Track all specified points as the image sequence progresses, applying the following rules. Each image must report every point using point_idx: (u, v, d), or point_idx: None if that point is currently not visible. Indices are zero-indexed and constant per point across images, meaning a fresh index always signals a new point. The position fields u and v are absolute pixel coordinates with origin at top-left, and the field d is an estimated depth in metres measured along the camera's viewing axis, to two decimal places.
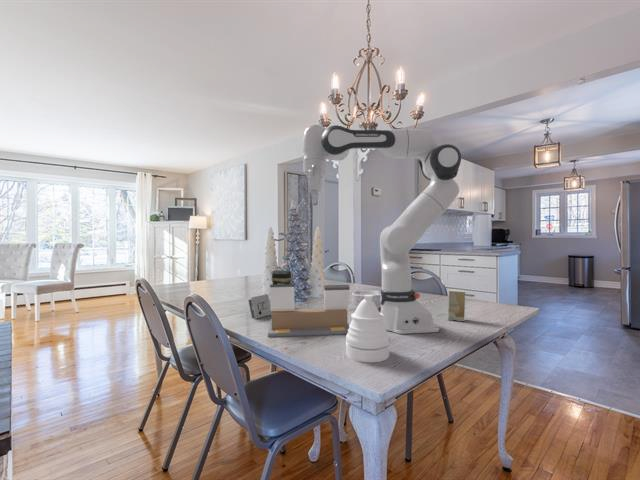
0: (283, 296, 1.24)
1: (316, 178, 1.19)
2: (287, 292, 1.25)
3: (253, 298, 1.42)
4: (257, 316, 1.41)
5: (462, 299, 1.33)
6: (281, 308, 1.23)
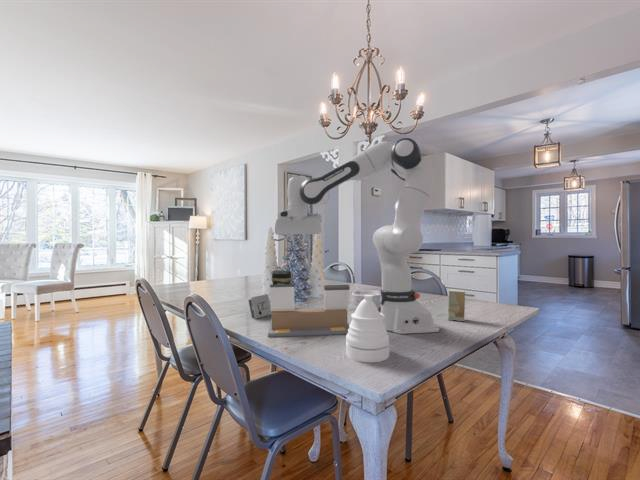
0: (283, 296, 1.24)
1: None
2: (287, 292, 1.25)
3: (253, 298, 1.42)
4: (257, 316, 1.41)
5: (462, 299, 1.33)
6: (281, 308, 1.23)
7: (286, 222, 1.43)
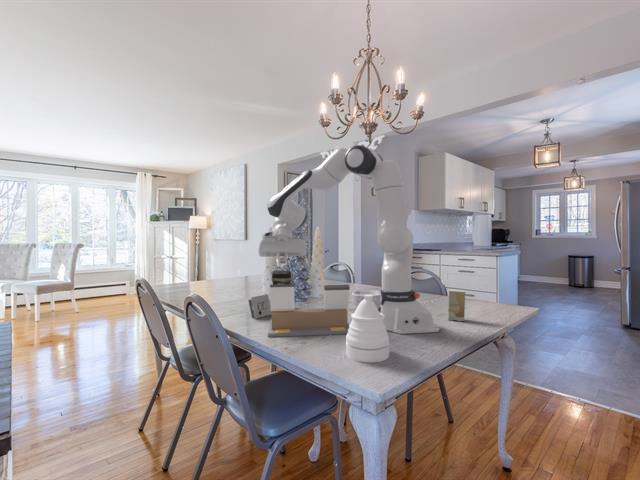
0: (283, 296, 1.24)
1: None
2: (287, 292, 1.25)
3: (253, 298, 1.42)
4: (257, 316, 1.41)
5: (462, 299, 1.33)
6: (281, 308, 1.23)
7: (270, 242, 1.43)
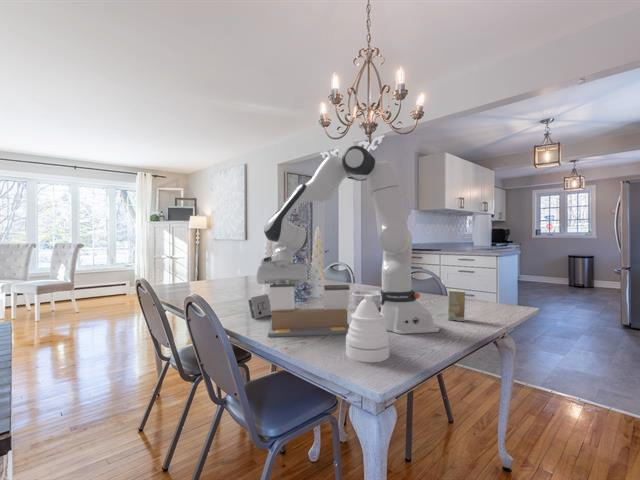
0: (283, 296, 1.24)
1: None
2: (287, 292, 1.25)
3: (253, 298, 1.42)
4: (257, 316, 1.41)
5: (462, 299, 1.33)
6: (281, 308, 1.23)
7: (269, 268, 1.32)
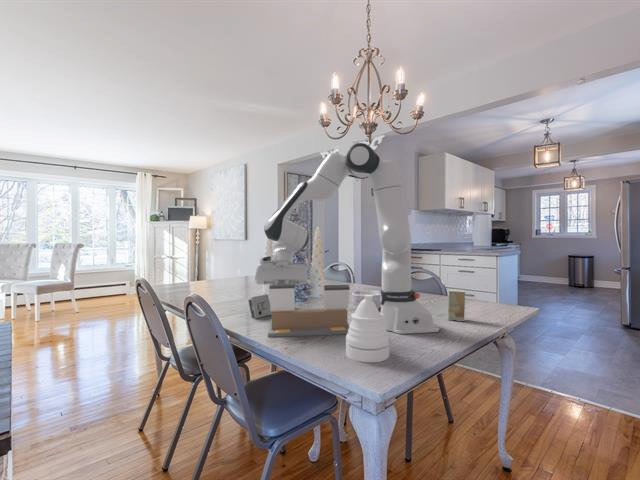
0: (283, 297, 1.22)
1: None
2: (287, 293, 1.22)
3: (253, 298, 1.42)
4: (257, 316, 1.41)
5: (462, 299, 1.33)
6: (281, 309, 1.22)
7: (269, 268, 1.29)
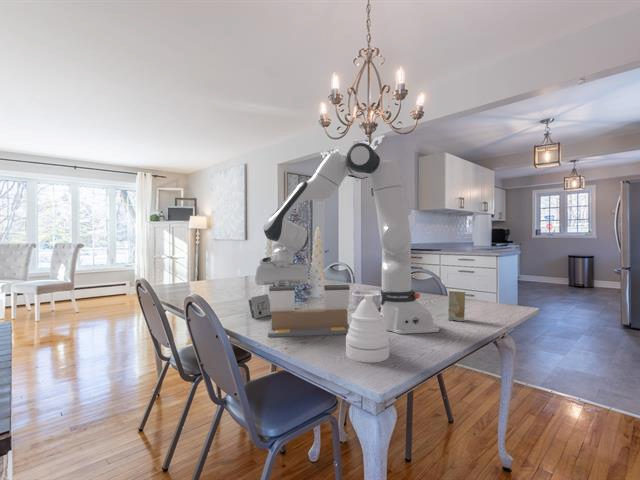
0: (283, 299, 1.21)
1: None
2: (287, 295, 1.21)
3: (253, 298, 1.42)
4: (257, 316, 1.41)
5: (462, 299, 1.33)
6: (281, 310, 1.22)
7: (269, 269, 1.28)
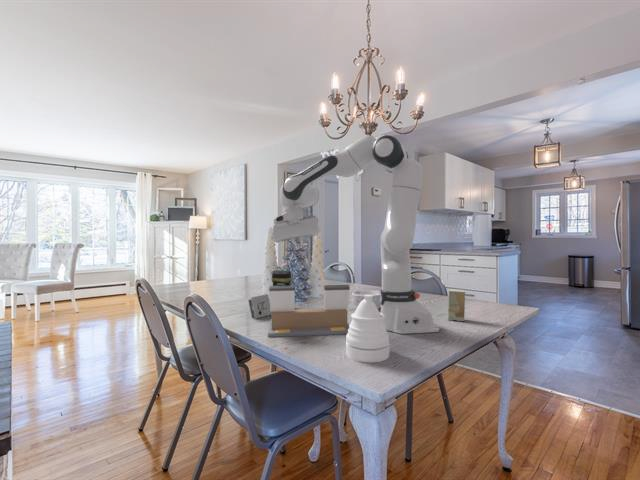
0: (283, 299, 1.21)
1: None
2: (287, 295, 1.21)
3: (253, 298, 1.42)
4: (257, 316, 1.41)
5: (462, 299, 1.33)
6: (281, 310, 1.22)
7: (283, 227, 1.42)
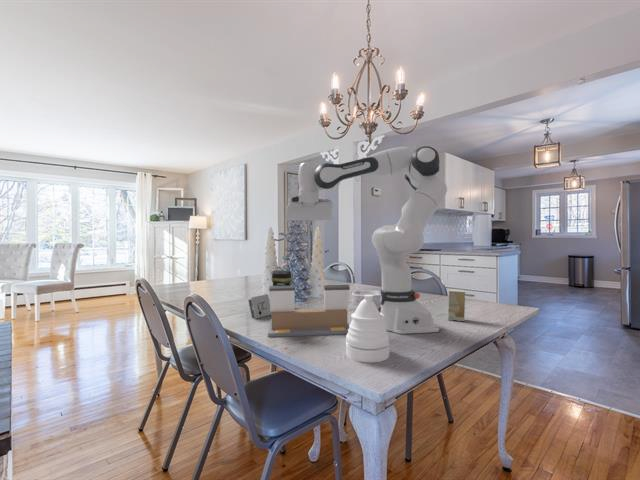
0: (283, 299, 1.21)
1: None
2: (287, 295, 1.21)
3: (253, 298, 1.42)
4: (257, 316, 1.41)
5: (462, 299, 1.33)
6: (281, 310, 1.22)
7: (297, 208, 1.41)
